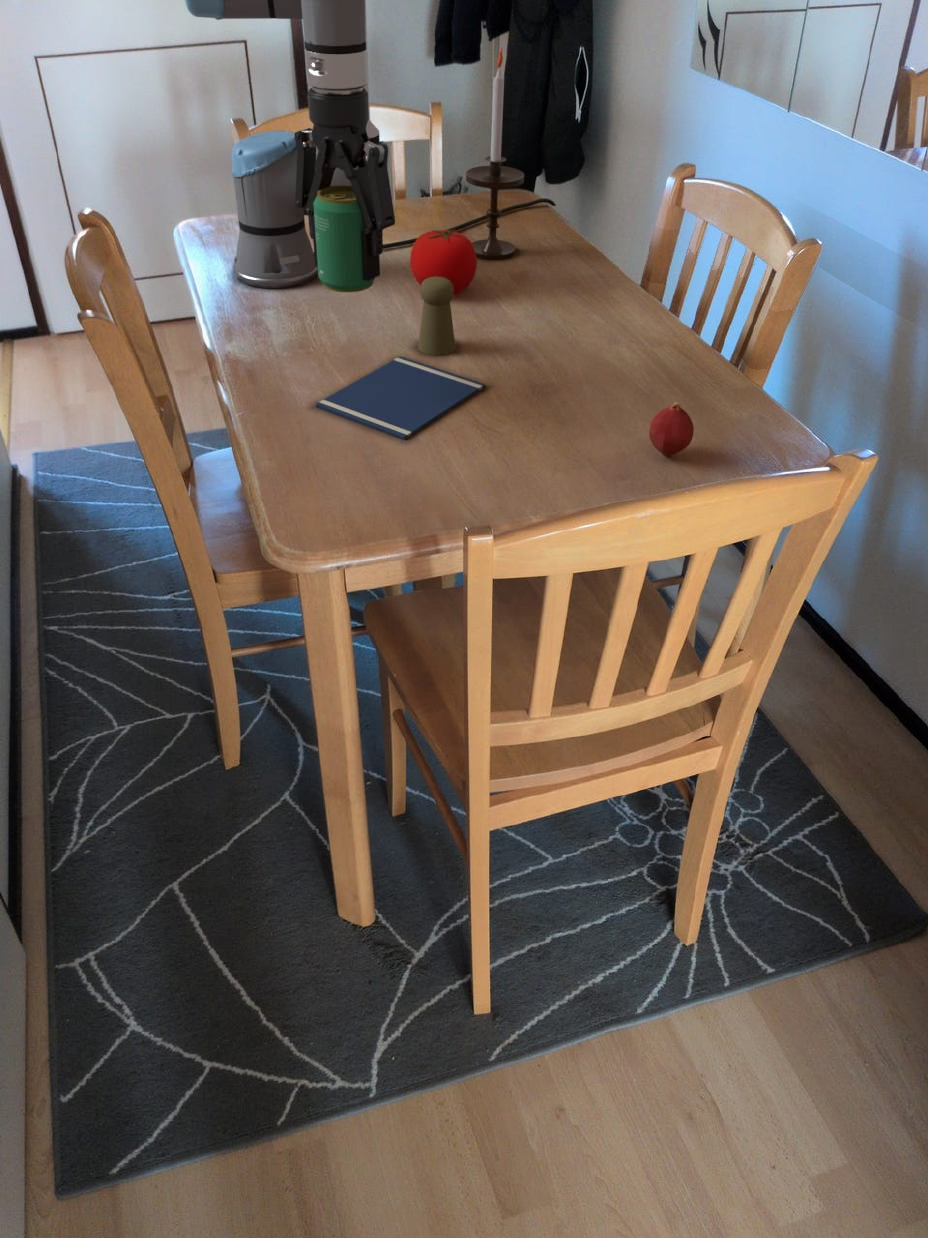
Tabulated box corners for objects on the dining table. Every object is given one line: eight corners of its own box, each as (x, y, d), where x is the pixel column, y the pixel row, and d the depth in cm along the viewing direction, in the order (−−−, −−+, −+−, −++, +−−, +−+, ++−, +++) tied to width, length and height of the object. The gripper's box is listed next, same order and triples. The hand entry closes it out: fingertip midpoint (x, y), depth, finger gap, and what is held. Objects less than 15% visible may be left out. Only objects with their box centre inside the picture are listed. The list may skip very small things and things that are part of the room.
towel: (400, 358, 156) (400, 355, 156) (484, 387, 149) (485, 383, 149) (315, 406, 143) (315, 403, 143) (404, 440, 136) (404, 436, 136)
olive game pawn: (451, 357, 157) (452, 288, 150) (413, 352, 158) (413, 284, 151) (458, 341, 162) (460, 274, 155) (422, 337, 162) (422, 270, 155)
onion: (641, 445, 137) (649, 392, 132) (682, 444, 137) (692, 391, 132) (651, 467, 132) (659, 412, 127) (693, 466, 133) (703, 412, 128)
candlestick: (485, 238, 200) (492, 39, 177) (530, 250, 195) (543, 47, 173) (453, 253, 193) (456, 48, 171) (499, 265, 188) (508, 56, 166)
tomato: (487, 297, 176) (489, 237, 169) (427, 307, 172) (427, 246, 165) (457, 274, 184) (459, 216, 178) (400, 283, 180) (399, 224, 173)
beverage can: (380, 291, 136) (377, 200, 129) (322, 294, 135) (315, 203, 127) (372, 270, 142) (369, 182, 135) (316, 273, 141) (309, 184, 133)
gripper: (255, 80, 125) (273, 261, 140) (384, 105, 116) (389, 296, 131) (295, 71, 130) (308, 246, 145) (423, 94, 121) (423, 279, 136)
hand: (347, 270), depth 138 cm, fingers closed on beverage can, 8 cm apart
